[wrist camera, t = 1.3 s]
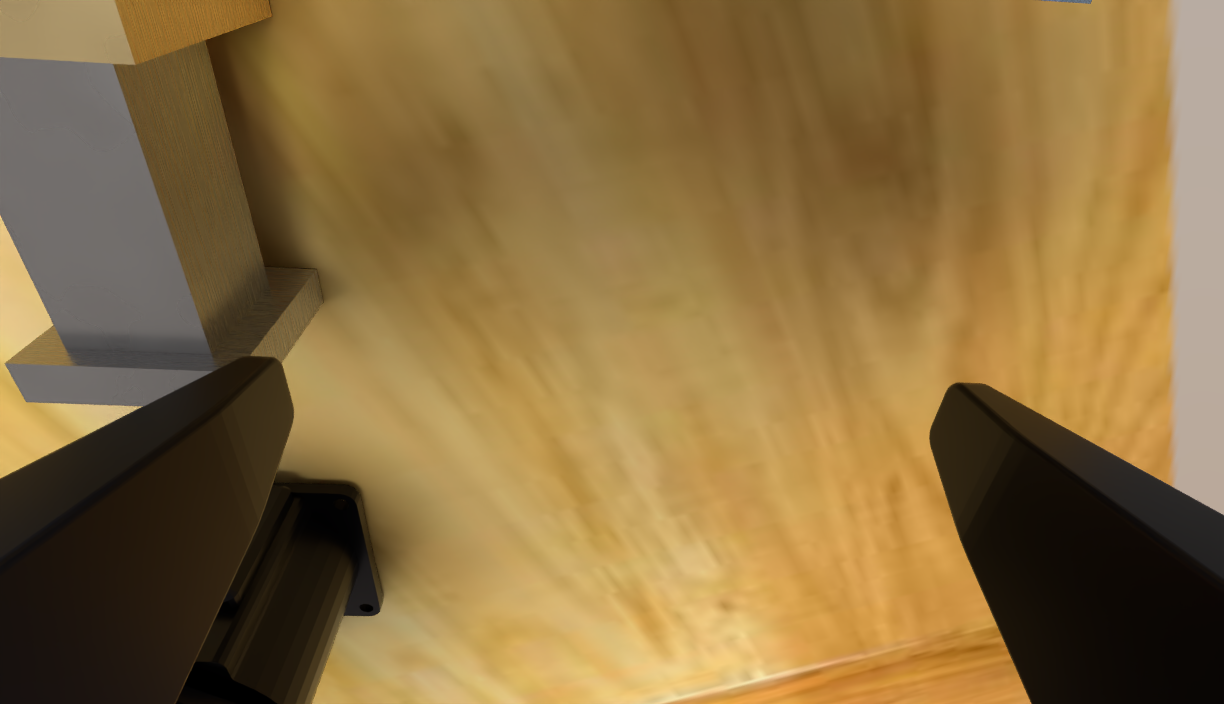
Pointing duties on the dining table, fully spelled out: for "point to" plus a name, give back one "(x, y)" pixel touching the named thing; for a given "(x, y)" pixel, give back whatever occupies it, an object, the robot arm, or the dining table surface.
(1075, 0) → the lever
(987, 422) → the robot arm
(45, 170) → the pipe valve
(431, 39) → the dining table surface
